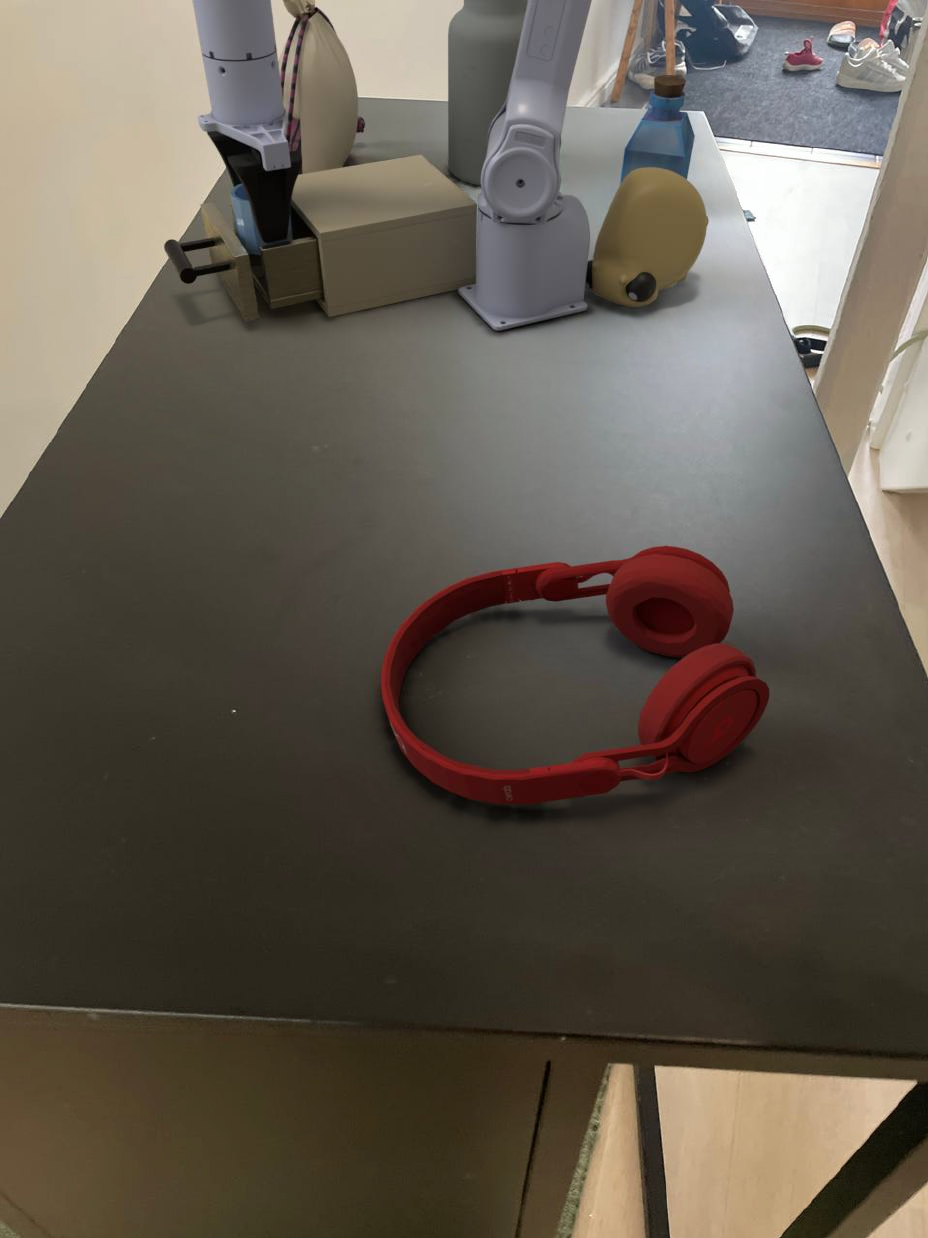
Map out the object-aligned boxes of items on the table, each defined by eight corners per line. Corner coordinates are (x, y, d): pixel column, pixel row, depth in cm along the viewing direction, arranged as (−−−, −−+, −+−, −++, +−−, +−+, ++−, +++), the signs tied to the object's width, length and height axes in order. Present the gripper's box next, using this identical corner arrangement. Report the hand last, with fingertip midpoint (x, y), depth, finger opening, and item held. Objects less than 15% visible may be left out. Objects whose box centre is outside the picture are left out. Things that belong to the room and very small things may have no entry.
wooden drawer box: (328, 317, 81) (319, 232, 76) (285, 258, 89) (274, 178, 84) (475, 285, 86) (477, 203, 80) (422, 232, 93) (420, 154, 88)
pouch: (317, 140, 111) (298, -51, 97) (384, 144, 110) (374, -47, 96) (255, 227, 94) (220, 11, 80) (332, 233, 93) (311, 16, 79)
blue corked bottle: (683, 195, 100) (706, 74, 92) (674, 218, 96) (696, 92, 88) (628, 187, 102) (645, 67, 93) (616, 209, 98) (632, 85, 89)
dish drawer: (196, 332, 78) (182, 266, 73) (166, 275, 85) (151, 212, 80) (390, 291, 83) (387, 227, 79) (347, 240, 90) (341, 179, 86)
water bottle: (455, 151, 109) (456, -154, 88) (536, 156, 108) (556, -151, 87) (442, 185, 102) (439, -138, 81) (529, 191, 101) (548, -134, 81)
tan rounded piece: (592, 307, 90) (544, 263, 81) (650, 191, 88) (608, 132, 79) (675, 340, 85) (635, 297, 76) (739, 218, 83) (705, 158, 74)
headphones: (709, 593, 57) (394, 639, 58) (717, 507, 52) (371, 558, 53) (783, 797, 47) (400, 848, 48) (802, 715, 42) (372, 774, 43)
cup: (284, 227, 83) (277, 176, 80) (301, 249, 80) (294, 196, 77) (233, 236, 82) (223, 184, 78) (248, 259, 79) (239, 206, 75)
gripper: (165, 31, 73) (199, 202, 83) (212, 84, 64) (243, 270, 74) (251, 21, 75) (274, 190, 85) (307, 72, 66) (325, 254, 76)
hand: (265, 226), depth 80 cm, fingers closed on cup, 5 cm apart
